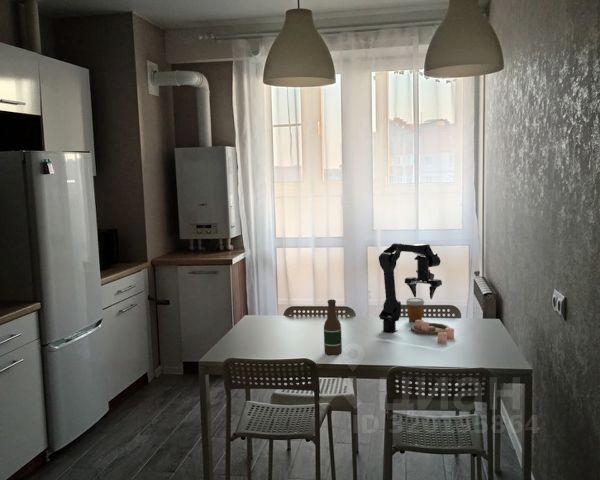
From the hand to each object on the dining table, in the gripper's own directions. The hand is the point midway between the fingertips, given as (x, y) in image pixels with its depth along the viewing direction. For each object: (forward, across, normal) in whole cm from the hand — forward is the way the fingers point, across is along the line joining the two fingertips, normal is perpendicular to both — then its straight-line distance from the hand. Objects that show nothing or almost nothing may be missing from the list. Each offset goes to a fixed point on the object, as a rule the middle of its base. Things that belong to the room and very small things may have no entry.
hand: (423, 298), depth 312 cm
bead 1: (+14, -25, +28) cm, 40 cm away
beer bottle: (+15, +8, +68) cm, 70 cm away
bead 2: (+14, -24, +19) cm, 34 cm away
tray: (+14, -10, +12) cm, 21 cm away
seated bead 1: (+13, -6, +15) cm, 21 cm away
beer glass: (+14, +5, -1) cm, 15 cm away
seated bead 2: (+13, -10, +17) cm, 24 cm away
